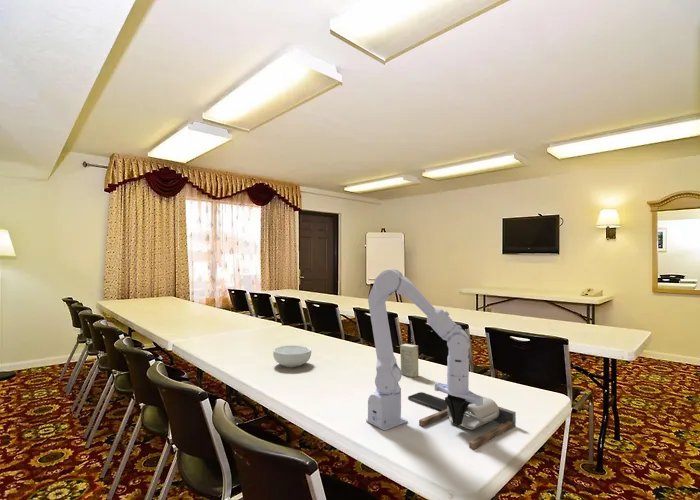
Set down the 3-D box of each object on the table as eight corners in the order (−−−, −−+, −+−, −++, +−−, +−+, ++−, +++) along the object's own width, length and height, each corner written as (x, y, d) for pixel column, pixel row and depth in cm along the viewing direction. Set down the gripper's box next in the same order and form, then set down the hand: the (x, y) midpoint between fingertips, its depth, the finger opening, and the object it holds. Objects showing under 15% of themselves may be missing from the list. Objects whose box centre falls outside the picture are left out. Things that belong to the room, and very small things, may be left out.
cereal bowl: (285, 373, 152) (285, 355, 152) (266, 364, 164) (266, 348, 164) (318, 365, 163) (318, 349, 163) (298, 358, 175) (298, 343, 176)
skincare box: (418, 375, 150) (418, 345, 150) (413, 377, 146) (413, 347, 147) (405, 372, 154) (405, 343, 154) (399, 374, 151) (399, 344, 151)
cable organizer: (466, 389, 114) (442, 397, 107) (503, 401, 104) (479, 411, 97) (466, 411, 114) (442, 421, 107) (504, 424, 104) (480, 436, 97)
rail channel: (473, 450, 90) (473, 433, 90) (419, 425, 104) (419, 410, 104) (515, 426, 103) (515, 412, 103) (462, 407, 117) (462, 394, 117)
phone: (444, 410, 112) (406, 396, 123) (444, 414, 112) (406, 400, 123) (458, 404, 117) (421, 391, 129) (458, 408, 117) (421, 394, 129)
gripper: (489, 378, 98) (489, 430, 97) (445, 365, 109) (444, 411, 109) (474, 383, 93) (473, 437, 93) (430, 369, 105) (429, 417, 104)
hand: (457, 424), depth 100 cm, fingers closed, pressing on cable organizer
